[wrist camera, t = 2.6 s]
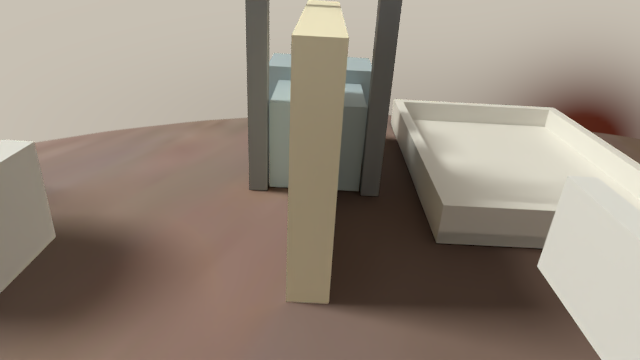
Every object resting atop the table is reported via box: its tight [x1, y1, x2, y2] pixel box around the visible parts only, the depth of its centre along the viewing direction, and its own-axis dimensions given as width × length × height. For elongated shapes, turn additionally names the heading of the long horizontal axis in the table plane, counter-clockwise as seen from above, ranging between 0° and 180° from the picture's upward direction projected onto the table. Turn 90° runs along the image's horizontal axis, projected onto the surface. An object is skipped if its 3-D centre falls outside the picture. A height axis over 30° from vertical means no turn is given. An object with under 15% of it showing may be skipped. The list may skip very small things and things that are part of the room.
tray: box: [391, 99, 640, 249], centre depth 35 cm, size 16×21×2 cm
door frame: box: [246, 0, 402, 196], centre depth 33 cm, size 9×12×14 cm
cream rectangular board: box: [286, 0, 349, 304], centre depth 25 cm, size 2×15×12 cm, turn 179°
